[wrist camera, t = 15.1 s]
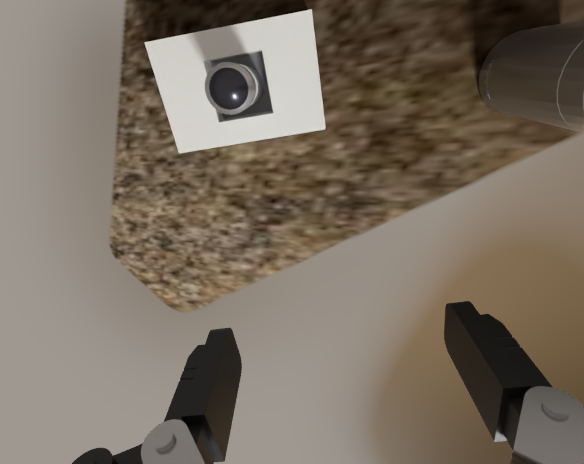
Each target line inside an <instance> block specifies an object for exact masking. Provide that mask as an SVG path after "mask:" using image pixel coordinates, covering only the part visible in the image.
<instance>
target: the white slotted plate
mask: <svg viewBox="0 0 584 464" xmlns="http://www.w3.org/2000/svg"><path fill="white" fill-rule="evenodd" d="M144 43H145V46H146V49H147V52H148V55H149V59H150V62H151V65H152V68H153V71H154V75H155V78H156V81H157V84H158V87H159V91H160V94H161V97H162V100H163V103H164V106H165V110H166V113H167V116H168V119H169V122H170V126H171V129H172V132H173V135H174V138H175V142H176V145H177V148H178V151H179V153H184V152H190V151H197V150H203V149H209V148H215V147H221V146H227V145H233V144H239V143H245V142H251V141H257V140H263V139H269V138H275V137H281V136H288V135H294V134H300V133H306V132H312V131H318V130H324V129H326V128H325V120H324V111H323V102H322V94H321V85H320V77H319V68H318V59H317V51H316V42H315V34H314V25H313V16H312V9H311V10H306V11H301V12H296V13H290V14H285V15H280V16H275V17H270V18H265V19H260V20H255V21H250V22H245V23H240V24H235V25H230V26H225V27H220V28H215V29H210V30H205V31H199V32H194V33H189V34H184V35H179V36H174V37H169V38H164V39H159V40H154V41H149V42H144ZM222 62H232V63H237V64H242V65H247V66H250V67H252V68H253V69H255V70H256V71H257V72H258V74H259V75H260V77H261V79H262V83H263V90H262V94H261V96H260V98H259V99H258V100H257V101H256V102H255V103H254V104H252V105H251V106H249V107H248V108H246V109H245V110H244V111H242V112H240V113H238V114H232V115H230V114H224V113H221V112H219V111H218V110H216V109H215V108H214V107H213V106H212V105H211V104H210V102H209V100H208V99H207V96H206V93H205V80H206V76H207V74H208V72H209V71H210V70H211V69H212V68H213V67H214V66H215V65H217V64H219V63H222Z"/></svg>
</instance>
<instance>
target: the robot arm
mask: <svg viewBox="0 0 584 464" xmlns="http://www.w3.org/2000/svg"><path fill="white" fill-rule="evenodd" d="M478 81H479V91H480V95H481V97H482V99H483V101H484V103H485V104H486V105H487V106H488V107H489V108H491V109H493V110H494V111H498V112H501V113H505V114H509V115H513V116H517V117H521V118H525V119H530V120H534V121H538V122H542V123H547V124H551V125H555V126H559V127H564V128H568V129H572V130H576V131H581V132H584V20H582V21H576V22H570V23H563V24H557V25H551V26H543V27H537V28H531V29H526V30H520V31H517V32H514V33H512V34H510V35H508V36H506V37H505V38H503V39H502V40H501V41H499V42H498V43H497V44H496V45H495V46H494V47H493V48H492V50H491V51H490V52H489V53H488V55H487V57H486V58H485V60H484V62H483V64H482V67H481V70H480V74H479V80H478ZM444 339H445V344H446V348H447V350H448V353H449V355H450V357H451V359H452V361H453V363H454V365H455V367H456V369H457V370H458V372H459V374H460V376H461V378H462V380H463V382H464V384H465V386H466V388H467V390H468V392H469V394H470V396H471V398H472V399H473V401H474V403H475V405H476V407H477V409H478V411H479V413H480V415H481V417H482V419H483V421H484V423H485V425H486V426H487V428H488V430H489V432H490V434H491V436H492V438H493V440H494V441H495V442H497V441H508V443H509V445H510V446H511V448H512V450H513V453H512V458H511V463H510V464H584V406H582V405H581V403H580V402H579V401H577V400H576V399H575V398H574V397H572V396H571V395H569V394H567V393H565V392H564V391H561V390H559V389H556V388H553V387H552V386H551V385H550V383H549V382H548V381H547V379H546V378H545V377H544V376H543V374H542V373H541V372H540V370H539V369H538V368H537V367H536V366H535V364H534V363H533V362H532V360H531V359H530V358H529V356H528V355H527V354H526V353H525V351H524V350H523V349H522V348H520V345H519V344H518V343H517V341H516V340H515V339H514V338H512V335H511V334H510V332H509V331H508V330H507V329H506V327H505V326H504V325H503V324H502V323H501V322H500V321H498V320H497V319H495V318H494V317H492V316H491V315H489V314H485V315H480V314H479V313H478V311H477V310H476V309H475V307H474V306H473V304H472V303H471V302H469V301H465V302H457V303H448V304H446V308H445V328H444ZM241 369H242V364H241V357H240V353H239V350H238V347H237V344H236V341H235V338H234V334H233V331H232V329H231V328H224V329H215V330H211V331H210V332H209V335H208V338H207V341H206V344H205V345H198V346H197V347H196V348H195V350H194V351H193V352H192V353H191V355H190V356H189V357H188V360H187V362H186V365H185V368H184V371H183V373H182V375H181V378H180V381H179V384H178V386H177V389H176V392H175V394H174V397H173V399H172V402H171V404H170V407H169V410H168V412H167V415H166V418H165V420H164V422H163V423H161V424H159V425H158V426H156V427H155V428H154V429H153V430H152V431H151V432H150V433H149V434H148V435H147V437H146V438H145V440H144V442H143V443H142V444H140V445H139V446H136V447H134V448H131V449H129V450H126V451H124V452H122V453H119V454H117V455H114V456H112V454H111V452H110V451H109V450H107V449H105V448H96V449H93V450H90V451H88V452H86V453H84V454H83V455H81V456H80V457H78V458H77V459H76V460H75V461H74V462H73V463H72V464H213V463H214V462H223V461H225V456H226V450H227V445H228V441H229V435H230V430H231V425H232V419H233V414H234V408H235V403H236V398H237V393H238V388H239V382H240V377H241Z"/></svg>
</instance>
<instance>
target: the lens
mask: <svg viewBox="0 0 584 464" xmlns="http://www.w3.org/2000/svg"><path fill="white" fill-rule="evenodd" d="M262 90H263V83H262V79H261V77H260V75H259V74H258V72H257V71H256V70H255V69H253V68H252V67H250V66H247V65H242V64H237V63H232V62H222V63H219V64H217V65H215V66H214V67H213V68H212V69H211V70H210V71H209V72H208V74H207V76H206V80H205V93H206V96H207V99H208V100H209V102H210V104H211V105H212V106H213V107H214V108H215V109H216V110H218V111H219V112H221V113H224V114H230V115H232V114H238V113H240V112H242V111H244V110H245V109H246V108H248V107H249V106H251V105H252V104H254V103H255V102H256V101H257V100H258V99H259V98H260V96H261V94H262Z"/></svg>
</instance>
